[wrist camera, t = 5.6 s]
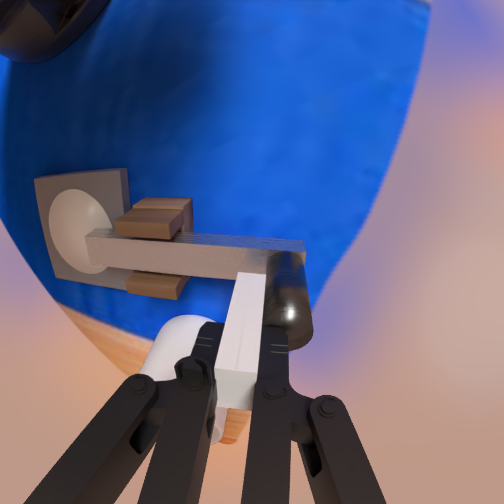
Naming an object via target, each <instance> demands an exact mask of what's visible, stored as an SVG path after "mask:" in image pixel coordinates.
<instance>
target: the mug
mask: <svg viewBox="0 0 504 504" xmlns="http://www.w3.org/2000/svg"><path fill="white" fill-rule="evenodd" d="M206 321H210V322H215V321H213V320H211V319H209V318H206V317H203V316H198V315H180V316H176V317H174V318H172V319H170V320H169V321H167V322H166V323H165V324H164V325H163V327H162V328H161V330H160V332H159V333H158V335H157V337H156V339H155V341H154V344H153V346H152V348H151V350H150V352H149V354H148V356H147V358H146V360H145V362H144V364H143V366H142V368H141V371H140V373H139V374H145V375H149V376H150V377H151V378H153V380H154V381H166V380H172V379H175V378H177V377H176V373H175V369H174V365H175V364H176V362H177V361H178V360H180V359H181V358H183V357H187V356H190V355H191V352H192V349H193V346H194V344H195V340H196V338H197V335H198V332H199V329H200V327H201V326H202V325H203V324H204V323H205V322H206ZM227 410H228V408H225V407H218V406H217V405H216V410H215V423H214V428H213V433H212V438H211V443H210V445H211V444H215V443H217V442H219V441H220V440H221V439H222V437H223V433H224V427H225V421H226V416H227Z"/></svg>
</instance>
